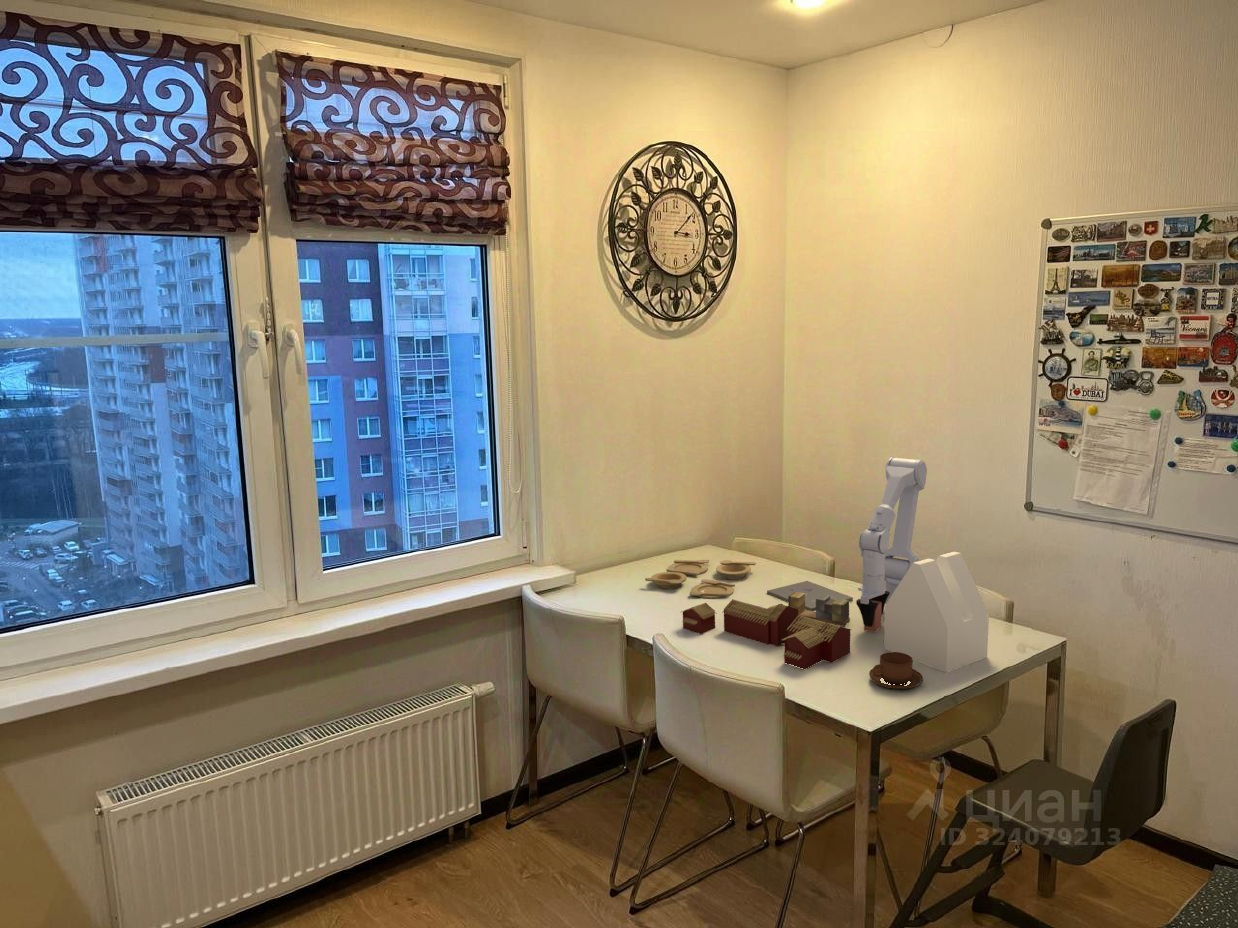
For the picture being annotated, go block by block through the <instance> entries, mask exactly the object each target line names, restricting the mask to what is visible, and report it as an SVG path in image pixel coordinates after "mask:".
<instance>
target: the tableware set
mask: <svg viewBox="0 0 1238 928" xmlns="http://www.w3.org/2000/svg"><path fill="white" fill-rule="evenodd" d="M709 563H710V559H698V560H689V559H688V560H684V559H683V560H682V559H674V560H673V563H672V564H669V565H668V567H667V568H666V571H663V572H659V573H655V574H653V575H651V577H645V579H644V580H645V581H646V582H652V583H654V584H657V586H658V587H659V588H662V589H676V588H678V587H679V586H681V584H683V583H684V582H686V581H687V576H699V575H701V574H703V573H706V572H708V570H709V567H708V565H707V564H709ZM719 563H720V564H719V565H717V566H716V568H715V571H716V572H717V573H719V574H721V575H722V576H723V578H725V579H727V580H741V579H743V578H744V577H745V576H746V574H748V573H750V572H751V571H752V567H751V566H756V565H757V563H756V562H755V561H734V560H733V561H731V560H721V561H720V562H719ZM735 587H736V584H735V583H733V582H732V583H731V582H726V581H720V580H715V579H714V580H712V579H705V578H702V579H701V583H700V584H697V585H694V586H693V587H691V589H690V591H689V594H688V595H689V596H692V597H699V598H703V599H721V598H725V597H729V596H731V595H732V594H734V588H735Z"/></svg>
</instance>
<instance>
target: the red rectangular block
mask: <svg viewBox="0 0 1238 928" xmlns="http://www.w3.org/2000/svg"><path fill="white" fill-rule="evenodd" d="M873 603H879V604H878V606H877V608H876V611H875V615H874V621H873V625H872V627H869V626H864V625H863V627H864V628H863V630H864V631H867V632H871V633H876V632H877V631H878V630H879V629H880V628H881V627H882V617H881V610H882V602H879V601H873Z"/></svg>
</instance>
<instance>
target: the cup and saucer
mask: <svg viewBox="0 0 1238 928" xmlns="http://www.w3.org/2000/svg"><path fill="white" fill-rule="evenodd" d="M868 674H869V677H870V679H871V681H873V682H875V683H876V684H877V685H880V686H882V687H883V688H889V689H894V690H895V689H896V690H904V689H911V688H914V687H917V686H918V685H920V684H921V683H922V681H923V679H924V677H923V674H922V673H921V672H920V671H918V670H917V669H915V668H913V659H912V657H911V656H909V655H907V654H904V653H900V652H893V651H889V652H883V653H882V654H880V655H879V663H878V664H875V665H874V666H873V667H872V668H871V669H870V670H869V673H868ZM881 678H883V679H884V681H885V682H886V683H887V682H888V684H889V683H890V684H891V685H888V684H884V683H881V681H880V679H881ZM908 681H910V682H911V683H910V684H909V685H907V686H904V685H906V684H907V682H908ZM904 683H905V684H904ZM893 684H895V685H893ZM900 684H902V685H900Z"/></svg>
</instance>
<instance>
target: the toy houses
mask: <svg viewBox="0 0 1238 928" xmlns="http://www.w3.org/2000/svg"><path fill="white" fill-rule="evenodd" d="M798 610H799V609H796V608H792V607H789V606H788V605H785V604H783V603H778V604H775V605H772V606H769V607H767V608H766V607H763V606H759V605H754V604H751V603H747V602H743V601H740V600H736V599H731V600H730V601H729V603H727V604H726V606H725V607H724V608H723V611H722V614H723V632H724V633H725V632H726V633H728V634H732V635H735V636H738V637H741V638H745V639H748V640H751V641H754V642H757V643H761V644H763V645H764V644H765V645H767V646H768V645H771V646H775V647H780V646H782V645H784V648H783V650H784V652H783V653H784V654H783V656H784V657H783V659H784V660H783V661H784V664H785V663H787V664H786V665H788V664H791V665H794V666H797V667H800V668H803V669H802V670H804V669H806V668H807V669H809V668H811V667H813V666H814V664H815V665H816V663H817V664H818V662H819V663H820V661H821V662H823V661H824V662H828V663H831V664H833V663H834V662H837V661H839V660H840V659H842V658H844V657H846V656H848V655H849V654H851V631H852V629H850V628H847V627H845V626H840V625H835V624H830V623H826V622H823V621H819V620H815V619H811V618H807V617H804V616H800V615H798ZM680 613H682V629H683V630H687V631H688V632H689V631H690V632H693V633H695V634H699V635H702V634H705V633H707V632H710V631H711V630H714V629H716V615H718V613H717V612H716V610H715V609H714V608H712V606H710V605H709V604H708V603H707V602H704V603H701V604H698V605H695V606H692V607H689V608H687V609H684V610H682V611H680ZM791 665H790V666H791ZM812 665H813V666H812ZM794 666H793V667H794ZM810 666H811V667H810ZM797 667H796V668H797ZM808 667H809V668H808ZM800 668H799V669H800ZM807 669H806V670H807Z"/></svg>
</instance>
